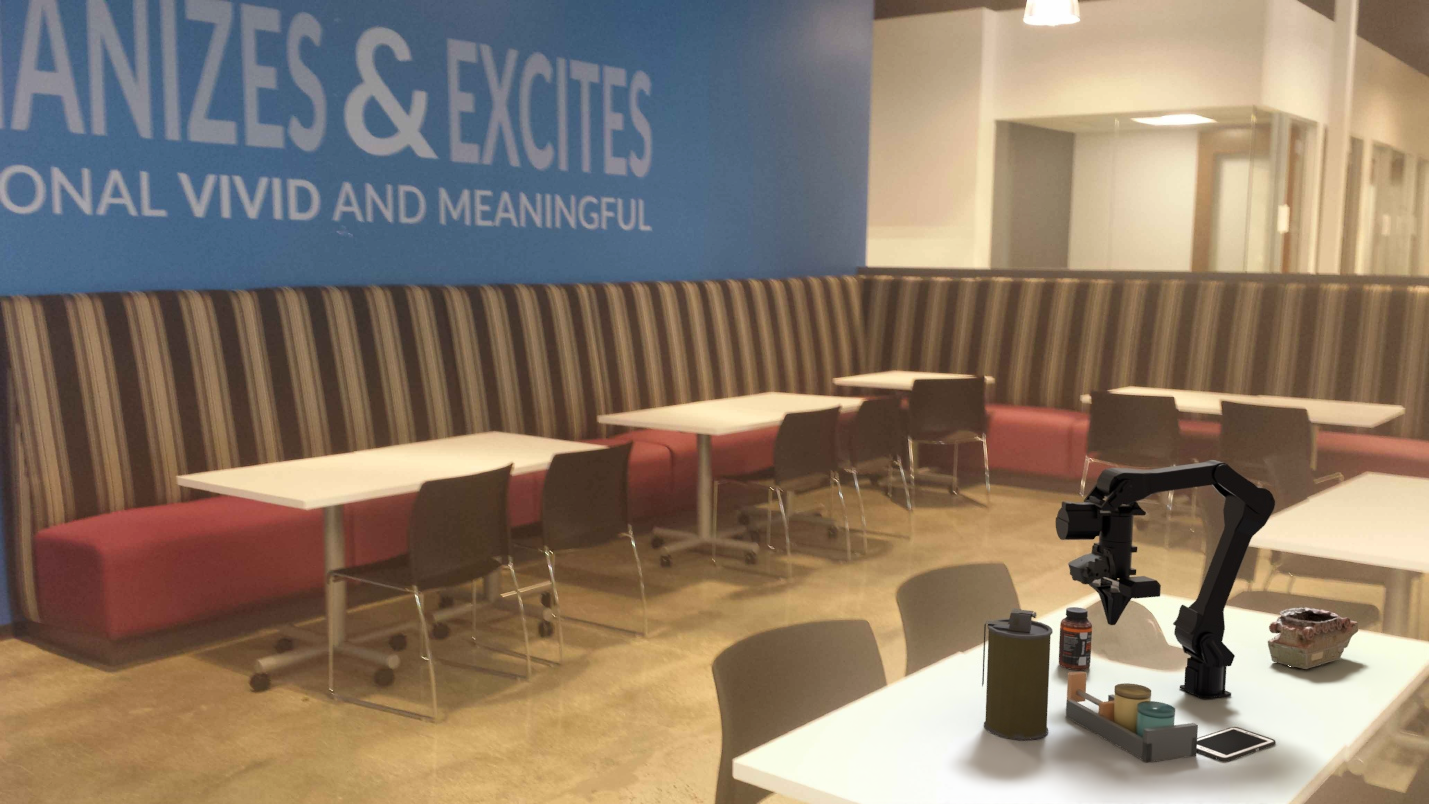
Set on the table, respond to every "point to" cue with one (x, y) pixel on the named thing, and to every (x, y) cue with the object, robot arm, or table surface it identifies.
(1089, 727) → the lane
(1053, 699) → the table surface
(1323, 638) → the decorative box
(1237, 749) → the cell phone
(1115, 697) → the ochre jar
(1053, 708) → the table surface
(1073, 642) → the supplement bottle
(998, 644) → the canister
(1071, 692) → the pusher
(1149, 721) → the jar
